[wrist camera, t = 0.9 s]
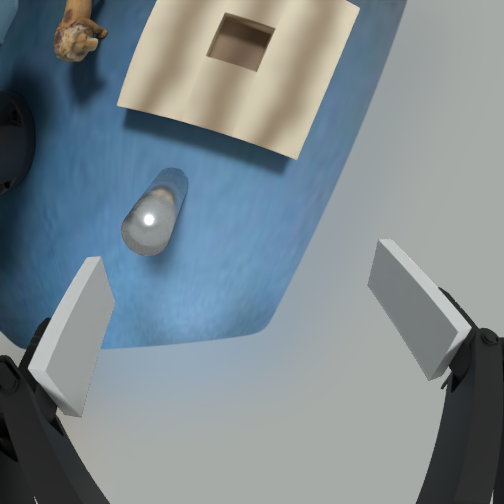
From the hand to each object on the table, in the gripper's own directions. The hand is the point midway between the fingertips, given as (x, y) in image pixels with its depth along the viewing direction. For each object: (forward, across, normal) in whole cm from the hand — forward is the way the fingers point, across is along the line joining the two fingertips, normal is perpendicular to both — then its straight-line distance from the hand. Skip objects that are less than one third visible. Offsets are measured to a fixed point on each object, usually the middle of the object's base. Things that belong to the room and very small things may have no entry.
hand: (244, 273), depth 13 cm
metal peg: (+24, -6, -2) cm, 25 cm away
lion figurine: (+24, -15, +20) cm, 35 cm away
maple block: (+24, +2, +14) cm, 27 cm away
